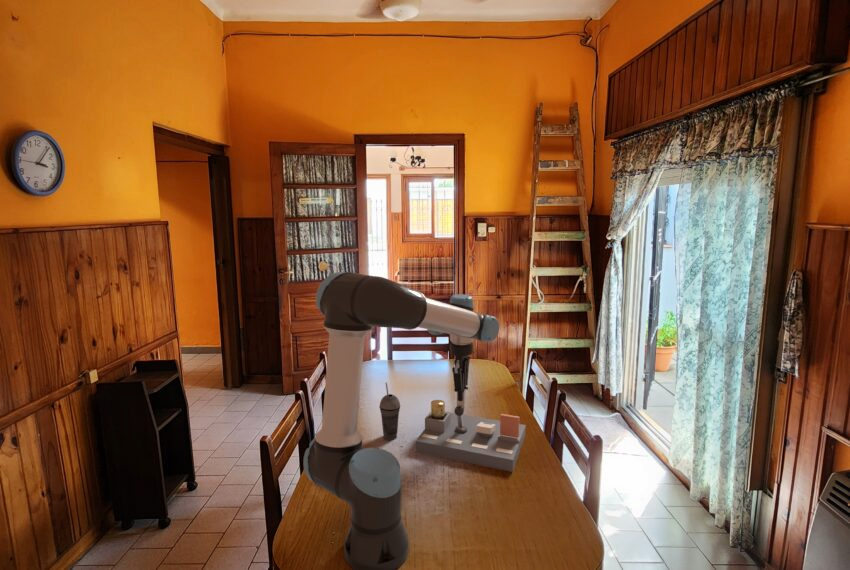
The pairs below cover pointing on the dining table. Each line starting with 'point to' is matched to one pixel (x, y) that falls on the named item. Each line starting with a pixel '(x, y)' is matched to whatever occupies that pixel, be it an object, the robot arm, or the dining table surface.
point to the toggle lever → (459, 415)
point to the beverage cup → (389, 415)
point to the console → (470, 442)
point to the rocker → (485, 428)
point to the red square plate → (509, 425)
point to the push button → (438, 409)
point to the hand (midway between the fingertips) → (461, 408)
